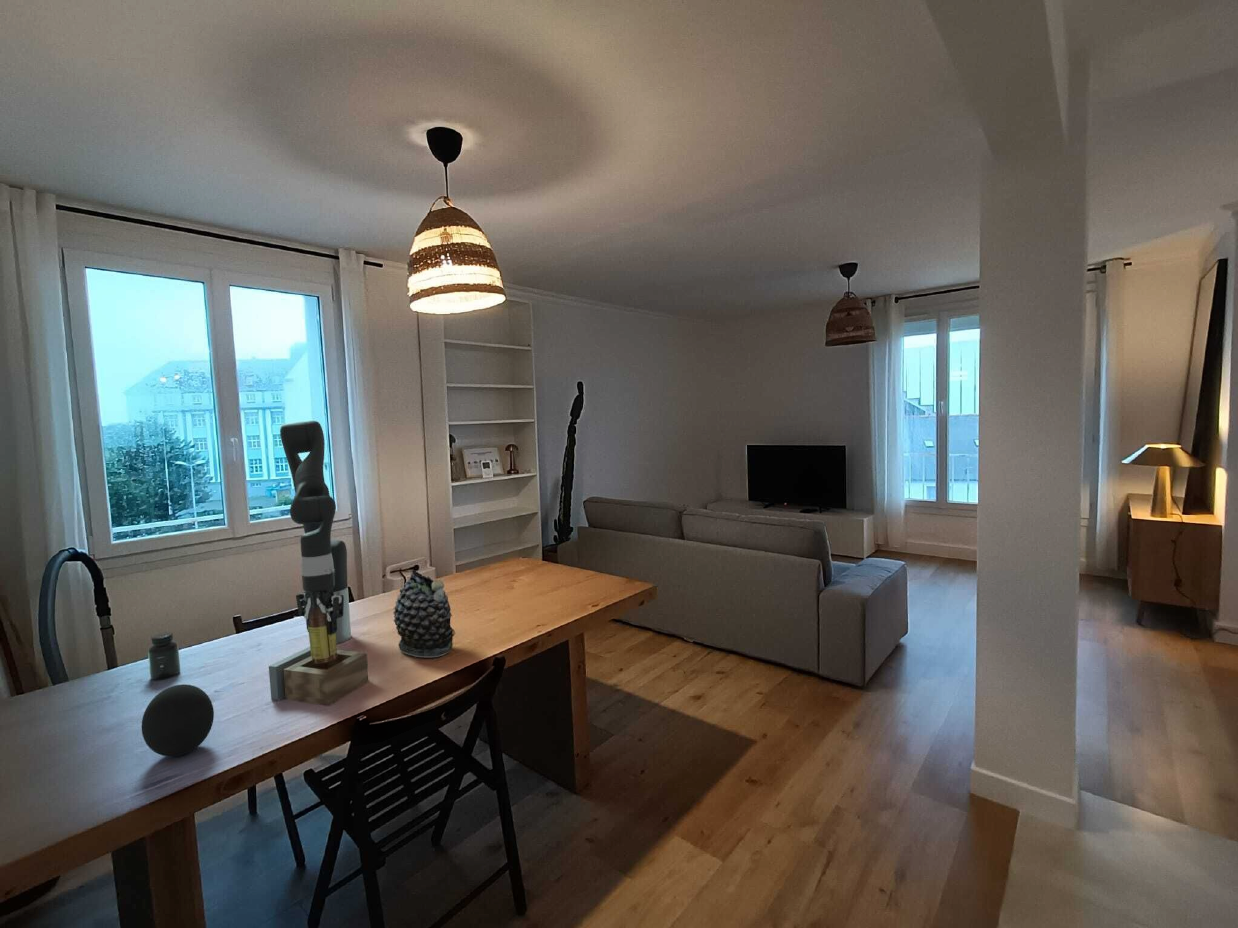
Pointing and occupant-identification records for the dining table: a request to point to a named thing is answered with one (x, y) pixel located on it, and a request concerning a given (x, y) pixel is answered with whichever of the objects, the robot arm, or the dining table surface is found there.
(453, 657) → the dining table surface
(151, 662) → the supplement bottle
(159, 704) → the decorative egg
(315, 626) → the sauce bottle
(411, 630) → the scaly dragon egg
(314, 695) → the open wooden box
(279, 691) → the backstop
